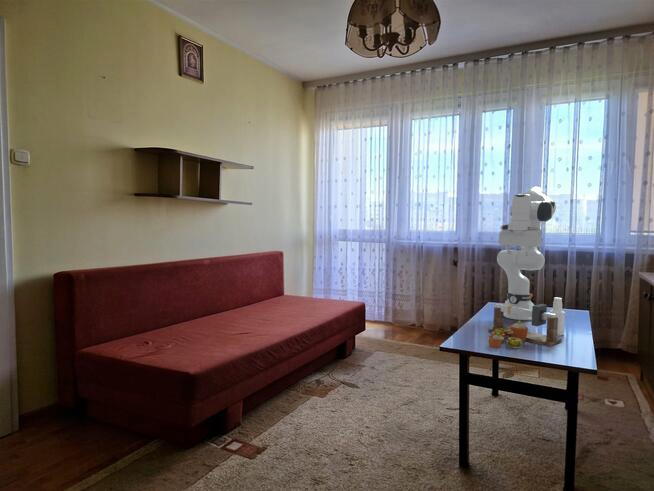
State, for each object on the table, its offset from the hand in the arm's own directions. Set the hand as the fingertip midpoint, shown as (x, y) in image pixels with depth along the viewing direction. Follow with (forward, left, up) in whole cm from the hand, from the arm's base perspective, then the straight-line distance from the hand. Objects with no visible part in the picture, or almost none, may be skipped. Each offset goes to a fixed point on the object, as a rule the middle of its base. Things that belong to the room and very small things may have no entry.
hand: (518, 255), depth 206 cm
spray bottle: (-17, +12, -39) cm, 44 cm away
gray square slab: (+2, +12, -31) cm, 34 cm away
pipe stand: (+2, +5, -39) cm, 39 cm away
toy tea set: (+18, +6, -40) cm, 44 cm away
